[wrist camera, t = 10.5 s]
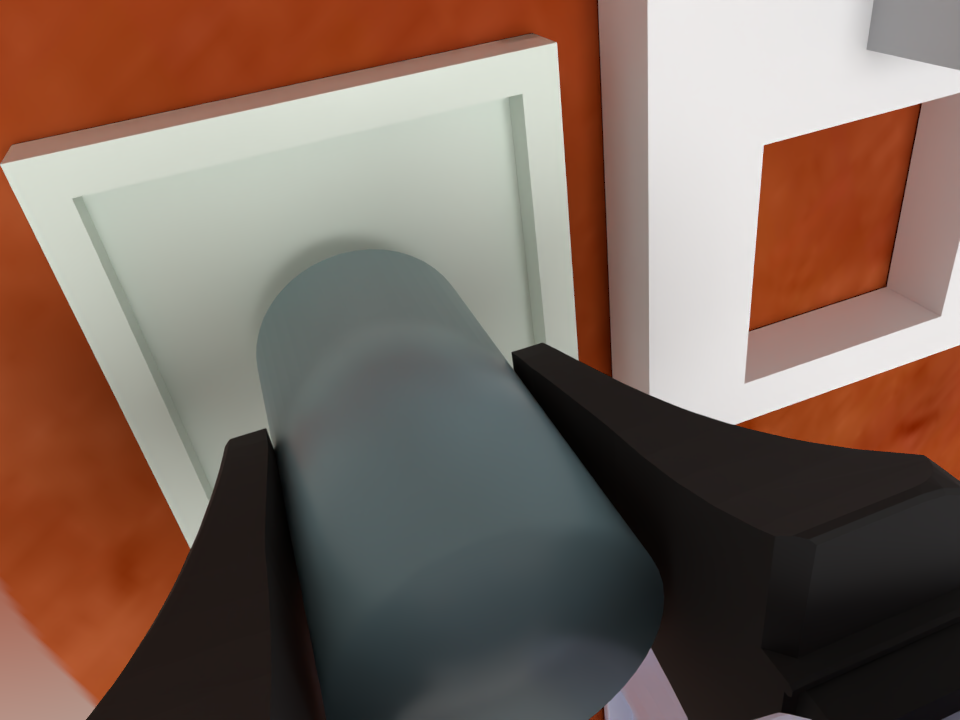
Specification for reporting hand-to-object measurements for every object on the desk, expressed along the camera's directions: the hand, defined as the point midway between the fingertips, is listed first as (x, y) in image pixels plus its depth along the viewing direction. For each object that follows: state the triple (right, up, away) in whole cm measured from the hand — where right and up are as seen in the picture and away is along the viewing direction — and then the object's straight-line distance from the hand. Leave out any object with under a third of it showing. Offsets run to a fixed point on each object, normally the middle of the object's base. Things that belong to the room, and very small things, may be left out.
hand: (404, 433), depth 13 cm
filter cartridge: (-1, +2, +2) cm, 3 cm away
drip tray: (-2, +2, +4) cm, 5 cm away
